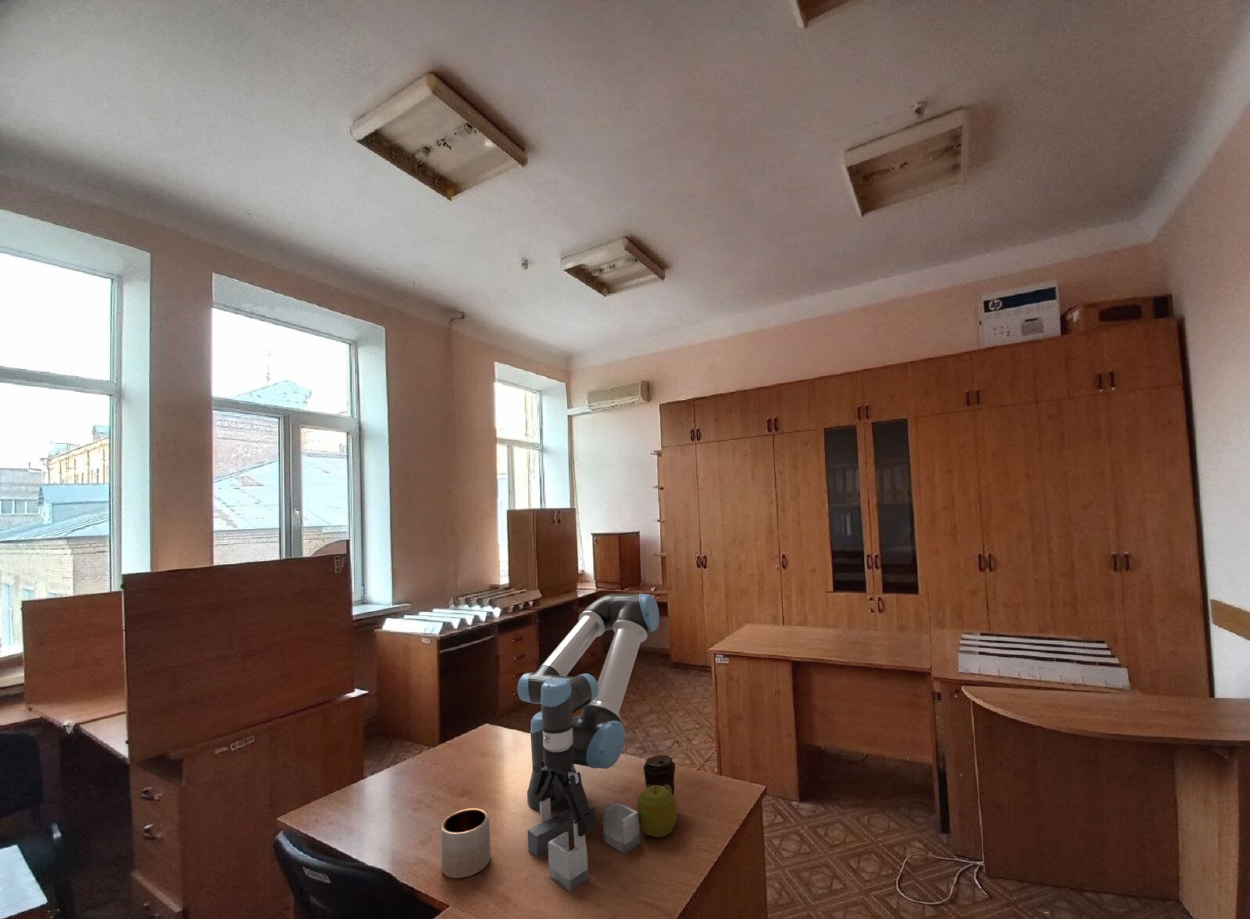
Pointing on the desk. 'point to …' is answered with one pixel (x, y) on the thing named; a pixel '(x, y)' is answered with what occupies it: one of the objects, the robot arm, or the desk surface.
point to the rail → (554, 831)
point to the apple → (657, 811)
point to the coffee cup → (660, 772)
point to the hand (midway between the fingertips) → (562, 838)
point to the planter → (465, 842)
